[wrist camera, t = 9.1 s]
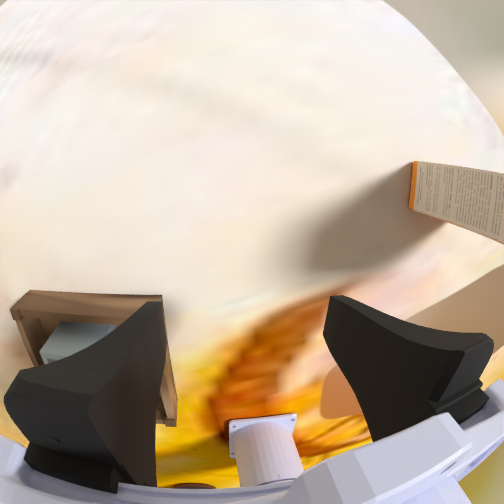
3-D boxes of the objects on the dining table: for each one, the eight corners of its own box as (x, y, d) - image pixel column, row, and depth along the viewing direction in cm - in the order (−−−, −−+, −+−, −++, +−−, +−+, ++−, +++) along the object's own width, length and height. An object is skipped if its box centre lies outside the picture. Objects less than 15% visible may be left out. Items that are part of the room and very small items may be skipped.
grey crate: (132, 385, 23) (123, 427, 17) (88, 380, 22) (74, 419, 17) (114, 318, 20) (94, 359, 15) (65, 315, 19) (39, 351, 14)
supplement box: (406, 211, 22) (523, 257, 10) (411, 159, 21) (535, 178, 8) (455, 217, 23) (550, 256, 11) (460, 174, 22) (559, 198, 10)
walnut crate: (177, 398, 25) (176, 426, 21) (66, 387, 22) (56, 410, 19) (162, 295, 21) (154, 320, 17) (30, 289, 18) (9, 309, 15)
